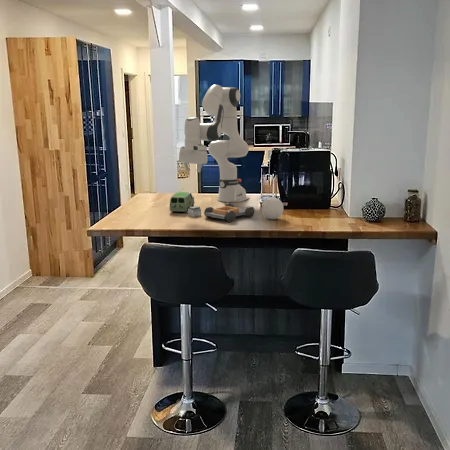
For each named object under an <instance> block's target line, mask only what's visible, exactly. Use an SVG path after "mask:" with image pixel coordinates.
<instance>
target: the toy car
mask: <svg viewBox="0 0 450 450" xmlns="http://www.w3.org/2000/svg"><path fill="white" fill-rule="evenodd" d="M195 203H196V202H195V197H194V196H193V194H192V192H188V191H179V192H178V191H177V192H175V193H174V194H172V195H171V196H170V200H169V211H170V212H171V213H174V212H184V213H187V214H188V209H189V207H193V206H195Z"/></svg>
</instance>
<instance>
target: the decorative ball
mask: <svg viewBox="0 0 450 450" xmlns="http://www.w3.org/2000/svg"><path fill="white" fill-rule="evenodd" d="M261 212H262V214H263V216H264V217H265V218H266V219H269V220H276V219H278V218H280V217H281V216H282V215H283V213H284V205H283V202H282V201H281V200H280V199H279V198H276V197H268V198H266V199H264V200H263V202H262V203H261Z"/></svg>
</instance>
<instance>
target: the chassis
mask: <svg viewBox="0 0 450 450" xmlns="http://www.w3.org/2000/svg"><path fill="white" fill-rule="evenodd" d="M255 213H256V211H255V208H254V207H253V206H251V205H250V206H247V207H245V208H244V207H242V206H241V207H240V206H234V204H233V202H225V204H224V206H219V207H216V208H215V207H213V206H206V207H205V209H204V212H203V215H204V216H205V218H209V219H211V218H216V219H221V220H225V221H226V222H227V223H233V222H234V221H235V220H236V217H240V216H243V215H245V216H246V218H253V217H254V215H255Z"/></svg>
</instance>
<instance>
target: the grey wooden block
mask: <svg viewBox="0 0 450 450" xmlns="http://www.w3.org/2000/svg"><path fill="white" fill-rule="evenodd" d="M187 216H188V217H192V218H196V217H199V216H202V208H201V207H200V206H198V205H194V206H193V207H189V209H188V212H187Z"/></svg>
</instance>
